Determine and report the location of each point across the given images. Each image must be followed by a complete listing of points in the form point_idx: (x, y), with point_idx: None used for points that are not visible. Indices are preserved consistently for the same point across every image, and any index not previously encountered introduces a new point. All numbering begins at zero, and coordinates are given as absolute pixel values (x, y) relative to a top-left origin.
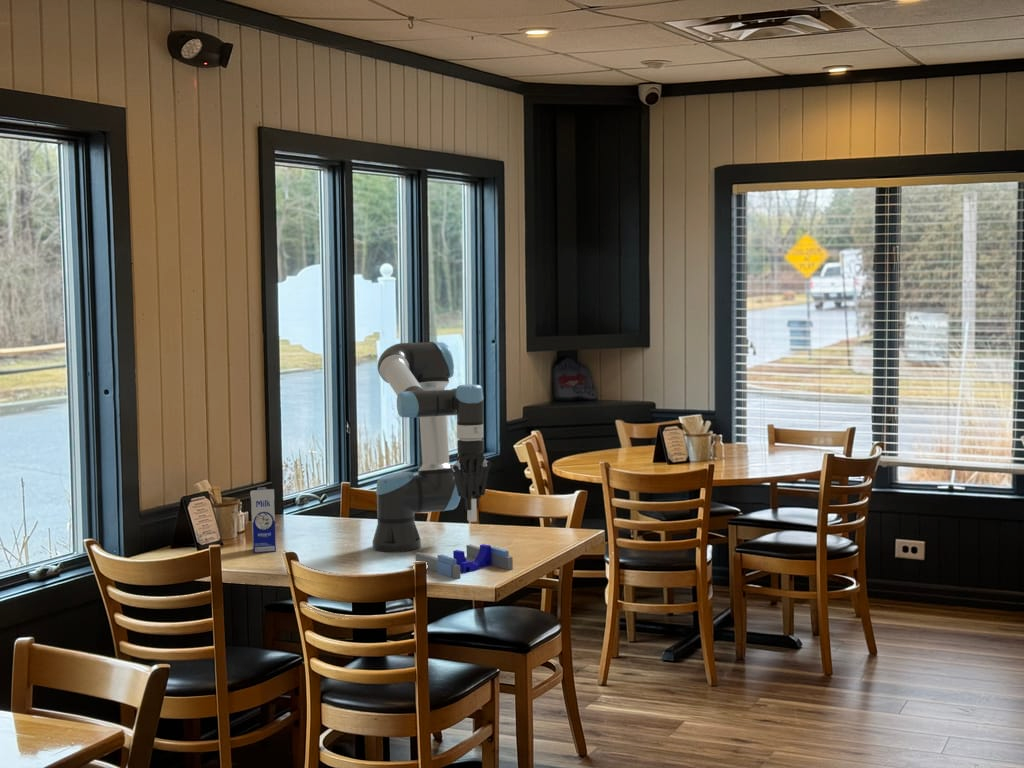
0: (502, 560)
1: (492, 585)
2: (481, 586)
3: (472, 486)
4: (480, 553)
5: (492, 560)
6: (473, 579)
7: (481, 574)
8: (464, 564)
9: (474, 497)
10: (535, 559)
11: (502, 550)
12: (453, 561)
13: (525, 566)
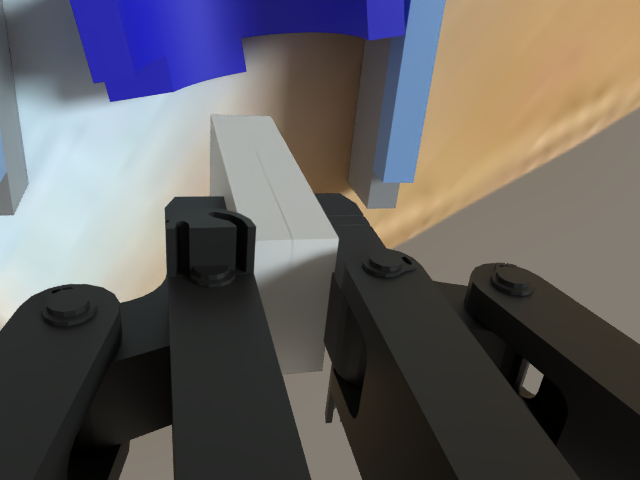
0: (366, 142)
1: None
2: None
3: (404, 430)
4: None
5: None
6: (81, 247)
7: (180, 178)
8: (113, 99)
9: (328, 338)
10: (602, 65)
11: (397, 149)
12: None
13: (457, 166)
